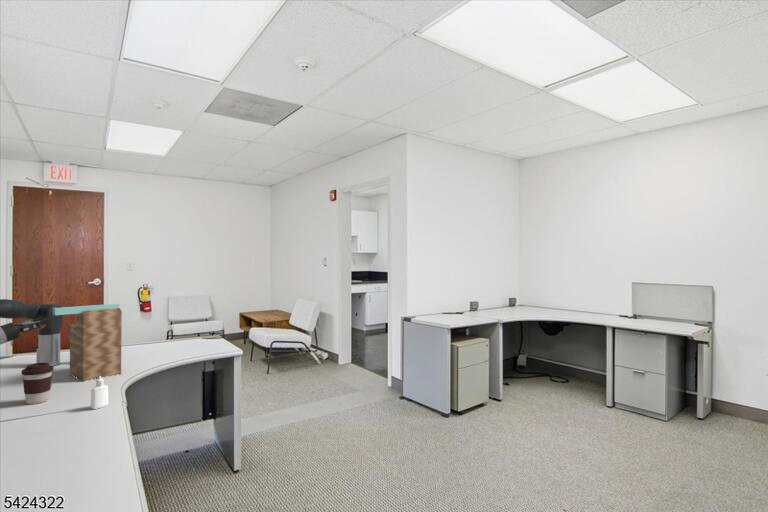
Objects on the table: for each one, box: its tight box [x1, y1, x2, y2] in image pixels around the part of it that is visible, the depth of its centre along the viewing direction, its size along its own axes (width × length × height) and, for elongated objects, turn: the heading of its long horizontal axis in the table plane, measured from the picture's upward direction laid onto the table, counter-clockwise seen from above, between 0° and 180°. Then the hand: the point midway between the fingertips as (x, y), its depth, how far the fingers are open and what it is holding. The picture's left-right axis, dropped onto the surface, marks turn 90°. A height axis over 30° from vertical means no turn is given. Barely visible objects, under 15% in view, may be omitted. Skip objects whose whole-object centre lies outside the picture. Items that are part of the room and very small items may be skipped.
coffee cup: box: [21, 363, 55, 405], centre depth 165 cm, size 10×10×15 cm
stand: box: [69, 307, 123, 382], centre depth 205 cm, size 16×20×33 cm
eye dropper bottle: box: [90, 376, 109, 410], centre depth 159 cm, size 4×6×12 cm
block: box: [53, 303, 120, 316], centre depth 198 cm, size 26×4×3 cm, turn 141°
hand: (46, 319), depth 187 cm, fingers open, 8 cm apart
